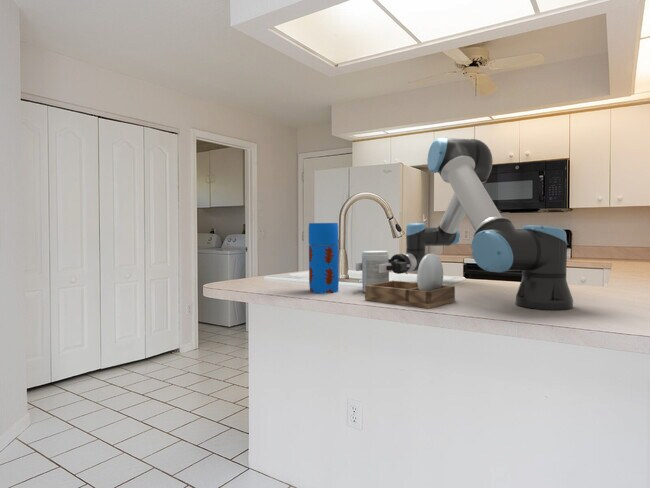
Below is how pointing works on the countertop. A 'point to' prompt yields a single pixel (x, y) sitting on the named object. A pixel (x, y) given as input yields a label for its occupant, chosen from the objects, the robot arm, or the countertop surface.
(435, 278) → the plate
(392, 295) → the rack
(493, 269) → the robot arm
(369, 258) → the supplement tub
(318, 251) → the thermos
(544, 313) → the countertop surface
